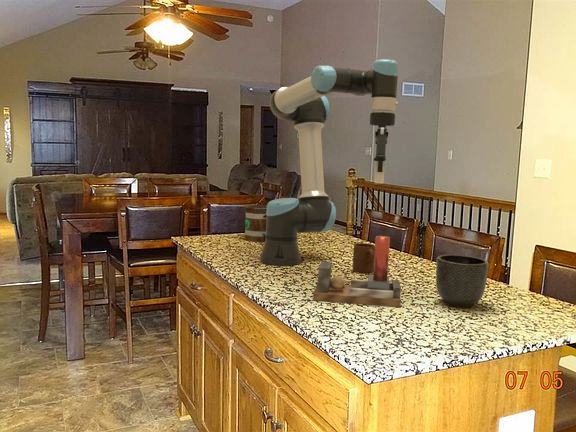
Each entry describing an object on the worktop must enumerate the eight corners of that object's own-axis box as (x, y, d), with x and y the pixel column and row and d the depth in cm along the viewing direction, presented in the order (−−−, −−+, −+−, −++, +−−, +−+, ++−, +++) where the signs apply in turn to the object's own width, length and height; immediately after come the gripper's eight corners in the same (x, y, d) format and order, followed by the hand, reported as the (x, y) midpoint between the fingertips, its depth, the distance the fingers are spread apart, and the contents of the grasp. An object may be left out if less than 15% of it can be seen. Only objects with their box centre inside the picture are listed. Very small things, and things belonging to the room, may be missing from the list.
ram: (367, 294, 151) (370, 238, 149) (367, 287, 158) (370, 234, 156) (388, 296, 150) (392, 239, 148) (387, 289, 157) (391, 235, 155)
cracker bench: (313, 300, 151) (314, 268, 150) (317, 289, 163) (318, 260, 162) (399, 307, 148) (402, 275, 146) (397, 295, 159) (399, 265, 158)
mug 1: (238, 237, 248) (239, 205, 246) (264, 236, 255) (265, 204, 253) (257, 245, 231) (258, 210, 229) (284, 243, 238) (286, 210, 236)
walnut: (327, 289, 156) (327, 275, 155) (336, 287, 159) (336, 273, 158) (337, 292, 153) (337, 278, 152) (346, 289, 156) (346, 276, 155)
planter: (478, 314, 144) (482, 267, 142) (427, 304, 151) (430, 259, 149) (489, 302, 156) (493, 258, 154) (441, 294, 163) (444, 252, 161)
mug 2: (382, 276, 182) (384, 249, 181) (361, 277, 181) (362, 249, 179) (369, 268, 194) (370, 243, 193) (349, 269, 192) (350, 243, 191)
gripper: (397, 109, 151) (392, 185, 154) (393, 115, 176) (389, 180, 179) (370, 109, 152) (366, 183, 155) (370, 114, 177) (366, 179, 180)
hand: (378, 182), depth 167 cm, fingers open, 13 cm apart
